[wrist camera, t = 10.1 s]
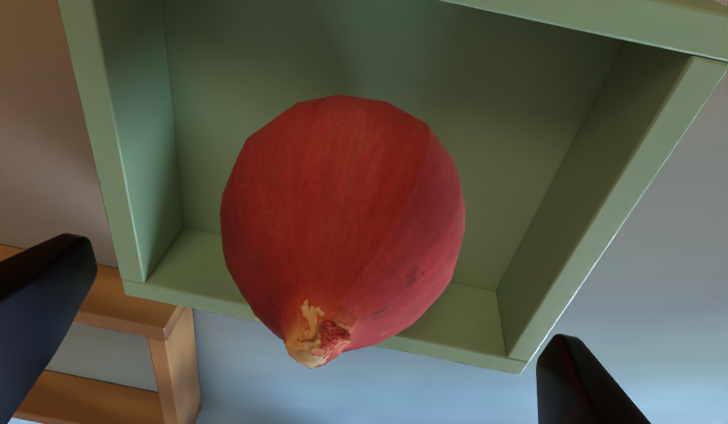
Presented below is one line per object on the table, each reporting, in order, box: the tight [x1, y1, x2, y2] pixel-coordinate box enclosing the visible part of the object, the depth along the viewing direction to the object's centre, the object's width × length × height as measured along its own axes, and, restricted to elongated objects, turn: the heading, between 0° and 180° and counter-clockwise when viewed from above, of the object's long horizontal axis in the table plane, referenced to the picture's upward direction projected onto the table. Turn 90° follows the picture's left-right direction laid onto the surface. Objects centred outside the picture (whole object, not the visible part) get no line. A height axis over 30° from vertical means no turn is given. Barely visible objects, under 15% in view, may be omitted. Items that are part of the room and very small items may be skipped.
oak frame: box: [0, 245, 202, 424], centre depth 22 cm, size 11×14×2 cm
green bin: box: [58, 0, 728, 375], centre depth 13 cm, size 12×14×4 cm
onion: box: [220, 94, 466, 369], centre depth 11 cm, size 6×6×8 cm
